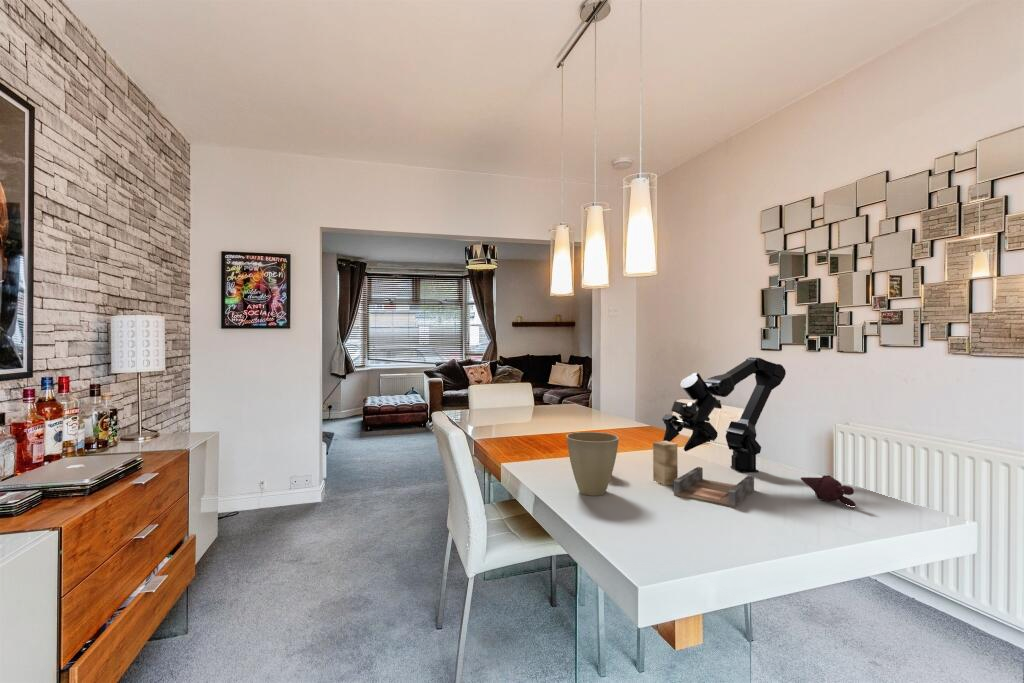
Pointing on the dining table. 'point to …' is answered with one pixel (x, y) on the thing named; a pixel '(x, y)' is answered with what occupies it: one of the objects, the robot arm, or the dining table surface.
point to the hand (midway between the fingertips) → (673, 447)
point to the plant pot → (592, 460)
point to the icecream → (829, 489)
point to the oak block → (665, 462)
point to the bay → (712, 489)
